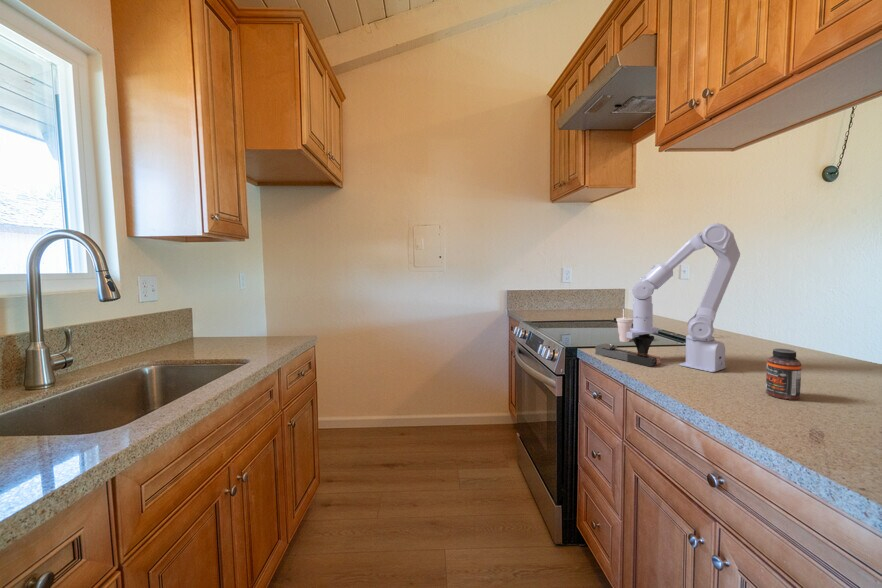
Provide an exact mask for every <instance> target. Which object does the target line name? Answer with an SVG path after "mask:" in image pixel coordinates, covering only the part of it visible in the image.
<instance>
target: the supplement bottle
mask: <svg viewBox="0 0 882 588" xmlns="http://www.w3.org/2000/svg"><path fill="white" fill-rule="evenodd" d="M801 380H802V361H800V360H799V359H797V351H796V350H794V349H788V348H773V349H772V356H770V357H768V358H767V360H766V379H765V381H766V382H765V393H766V394H767V395H769V396H770V397H773V398H777V399H780V398H781V399H780V400H786V399H789V400H788V401H793V400H798V399H800V397H801V386H802V385H801V382H802V381H801Z"/></svg>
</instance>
